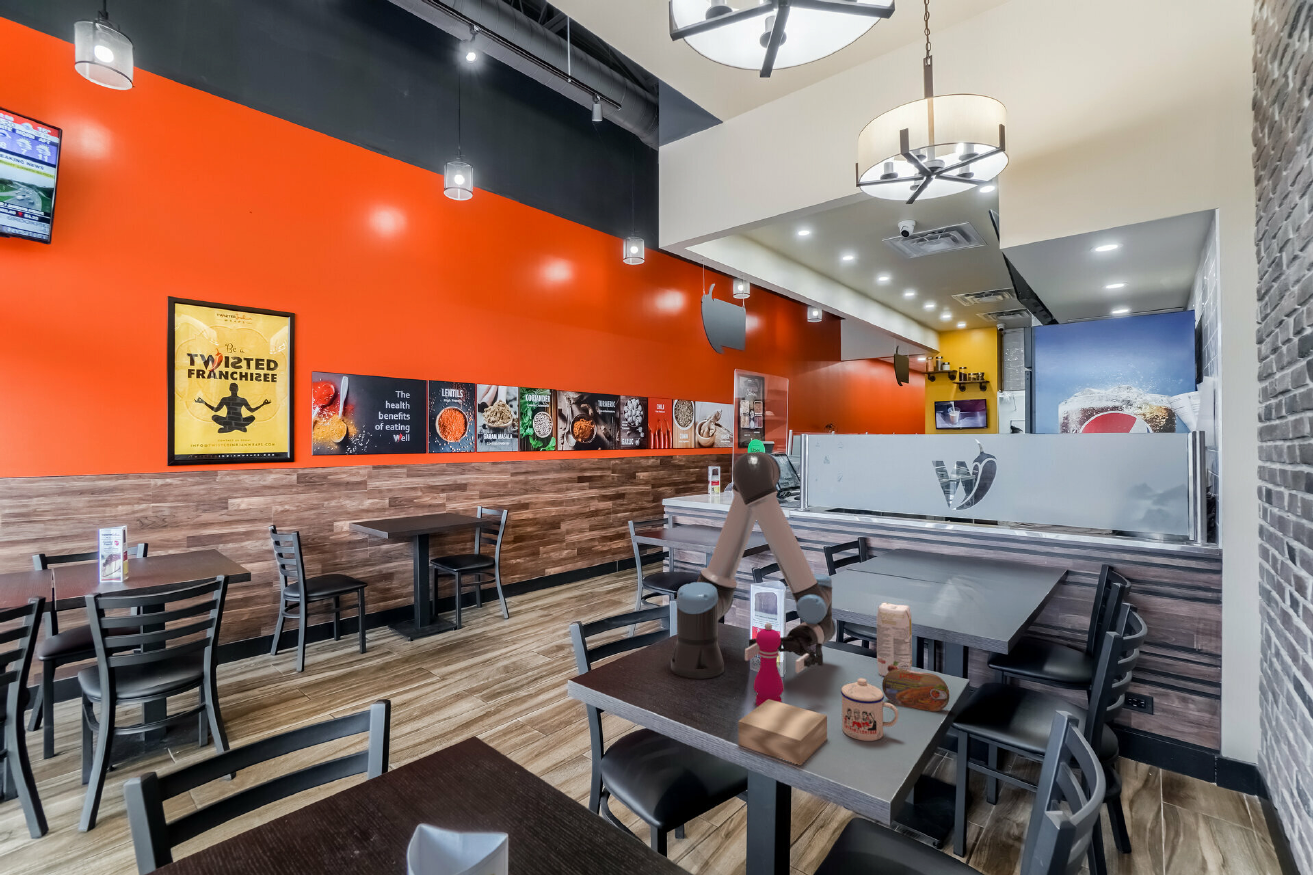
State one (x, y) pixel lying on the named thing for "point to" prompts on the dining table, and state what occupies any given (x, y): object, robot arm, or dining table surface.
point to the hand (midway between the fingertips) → (770, 660)
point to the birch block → (783, 731)
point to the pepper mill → (768, 666)
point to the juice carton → (894, 638)
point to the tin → (916, 690)
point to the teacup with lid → (864, 711)
